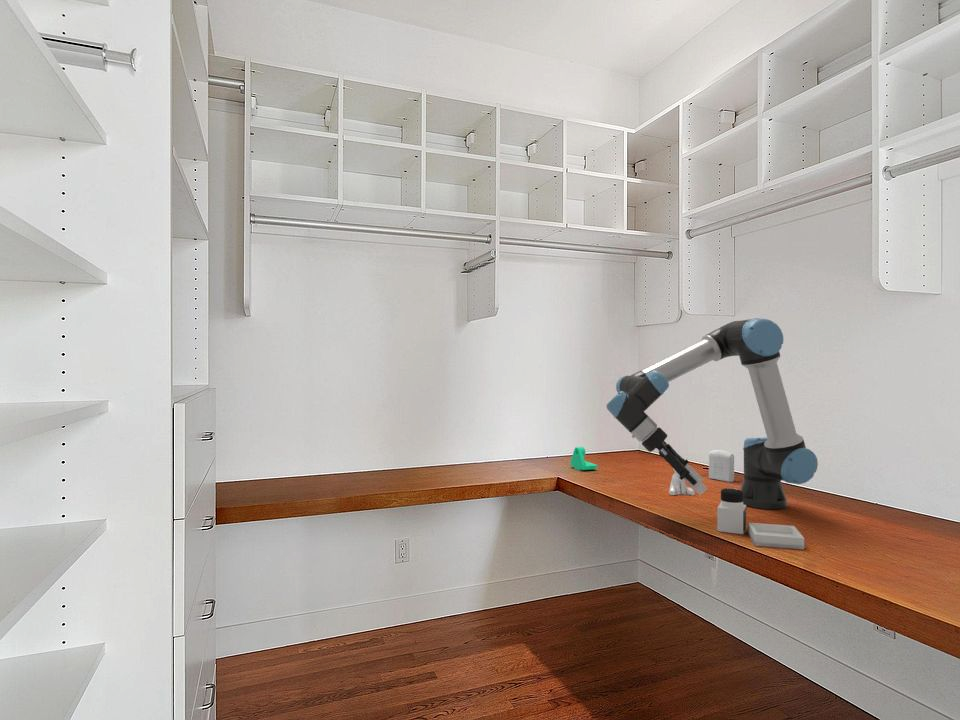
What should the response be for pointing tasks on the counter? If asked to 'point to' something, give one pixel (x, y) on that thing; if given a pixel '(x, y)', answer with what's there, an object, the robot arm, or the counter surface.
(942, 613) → the counter surface
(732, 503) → the medicine bottle
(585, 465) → the green angular piece
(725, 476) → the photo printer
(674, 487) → the white creature statuette
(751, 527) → the grey square tray
